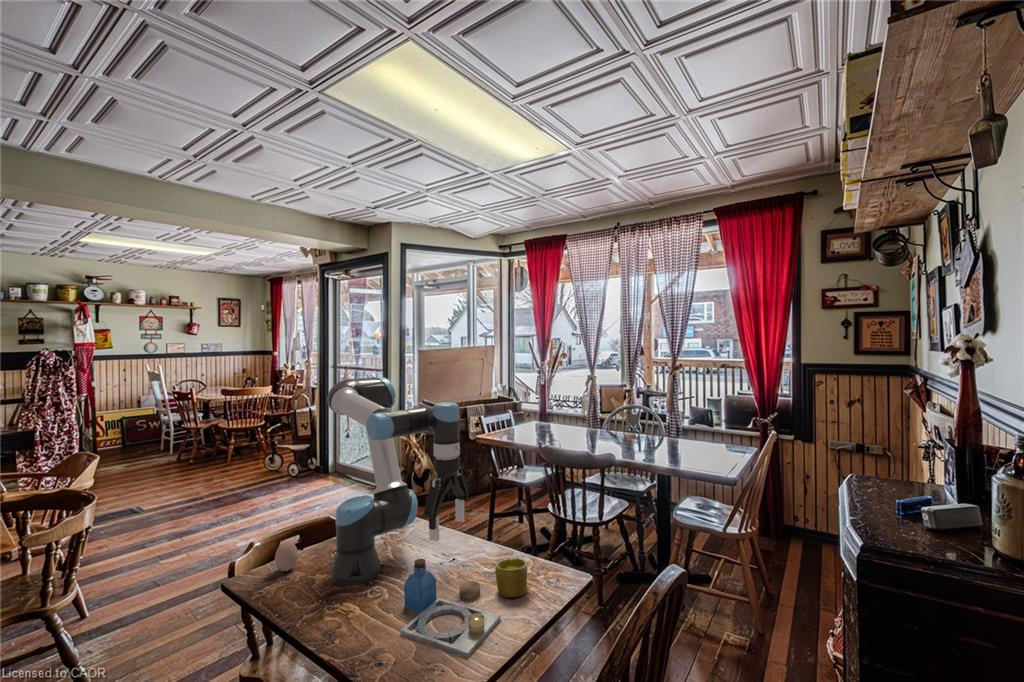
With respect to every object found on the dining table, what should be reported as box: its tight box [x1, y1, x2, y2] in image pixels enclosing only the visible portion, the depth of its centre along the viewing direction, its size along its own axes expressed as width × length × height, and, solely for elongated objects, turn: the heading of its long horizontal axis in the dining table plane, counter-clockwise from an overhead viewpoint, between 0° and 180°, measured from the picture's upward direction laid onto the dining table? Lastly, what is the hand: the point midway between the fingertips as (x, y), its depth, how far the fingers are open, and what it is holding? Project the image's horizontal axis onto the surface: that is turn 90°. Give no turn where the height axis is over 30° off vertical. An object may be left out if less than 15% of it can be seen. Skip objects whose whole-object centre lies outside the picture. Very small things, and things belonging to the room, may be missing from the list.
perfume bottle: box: [403, 558, 437, 614], centre depth 125 cm, size 6×6×12 cm
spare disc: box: [458, 580, 481, 601], centre depth 129 cm, size 6×6×2 cm
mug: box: [495, 556, 528, 599], centre depth 131 cm, size 12×10×10 cm
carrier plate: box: [400, 597, 502, 659], centre depth 114 cm, size 20×16×4 cm
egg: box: [274, 540, 299, 572], centre depth 146 cm, size 7×7×10 cm
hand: (447, 530), depth 128 cm, fingers open, 13 cm apart
